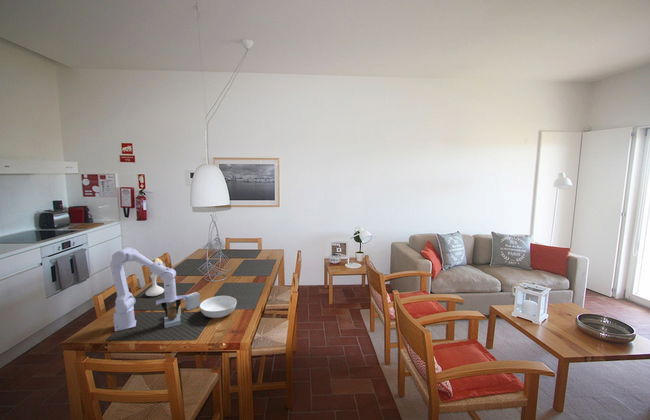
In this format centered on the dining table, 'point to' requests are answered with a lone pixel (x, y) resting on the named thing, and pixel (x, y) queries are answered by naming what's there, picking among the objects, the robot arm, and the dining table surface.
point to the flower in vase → (155, 288)
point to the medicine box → (192, 301)
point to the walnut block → (171, 312)
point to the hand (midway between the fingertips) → (171, 313)
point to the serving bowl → (218, 306)
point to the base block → (172, 321)
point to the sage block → (179, 311)
